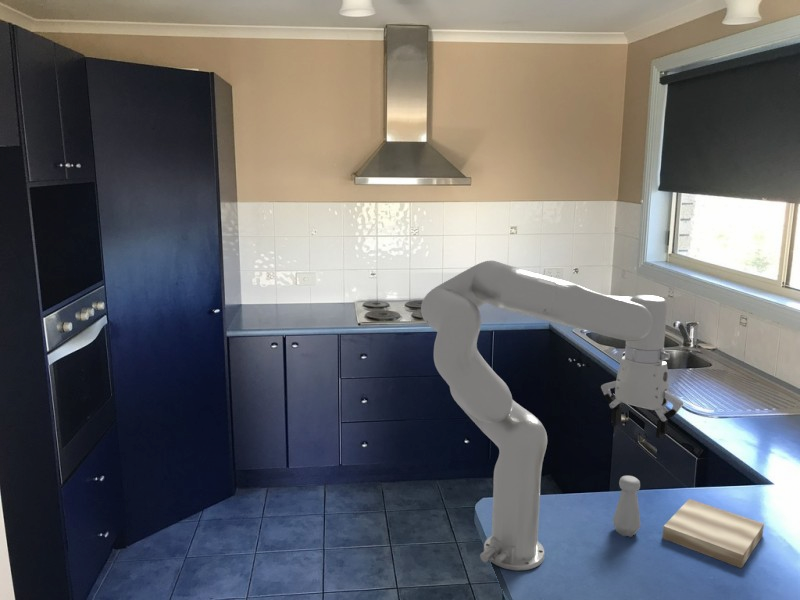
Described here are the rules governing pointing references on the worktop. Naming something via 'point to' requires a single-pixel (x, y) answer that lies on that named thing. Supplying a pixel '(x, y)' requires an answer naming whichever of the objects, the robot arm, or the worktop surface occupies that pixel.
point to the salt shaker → (627, 507)
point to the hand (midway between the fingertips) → (637, 430)
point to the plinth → (714, 532)
